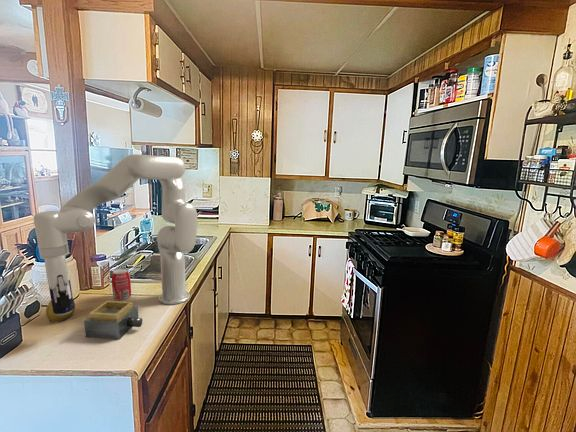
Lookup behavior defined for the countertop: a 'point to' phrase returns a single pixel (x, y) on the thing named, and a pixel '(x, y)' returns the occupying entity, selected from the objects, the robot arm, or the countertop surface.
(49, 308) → the fruit
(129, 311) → the box
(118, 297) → the soda can
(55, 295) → the beverage can
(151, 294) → the countertop surface
